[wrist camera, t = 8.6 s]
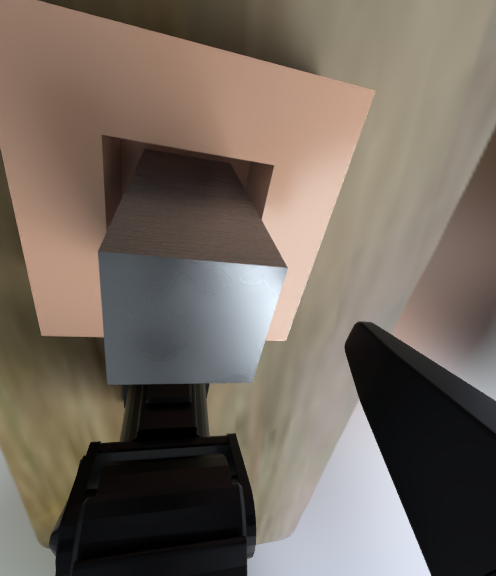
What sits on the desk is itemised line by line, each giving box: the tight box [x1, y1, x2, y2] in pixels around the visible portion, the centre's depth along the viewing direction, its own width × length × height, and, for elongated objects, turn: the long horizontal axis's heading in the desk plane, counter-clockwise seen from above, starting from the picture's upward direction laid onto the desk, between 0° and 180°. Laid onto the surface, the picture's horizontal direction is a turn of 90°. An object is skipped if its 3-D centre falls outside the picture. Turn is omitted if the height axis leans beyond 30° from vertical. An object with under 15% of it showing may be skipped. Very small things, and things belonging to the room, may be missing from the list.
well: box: [0, 0, 376, 341], centre depth 14 cm, size 12×12×5 cm
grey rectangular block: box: [98, 149, 288, 385], centre depth 12 cm, size 4×4×10 cm
